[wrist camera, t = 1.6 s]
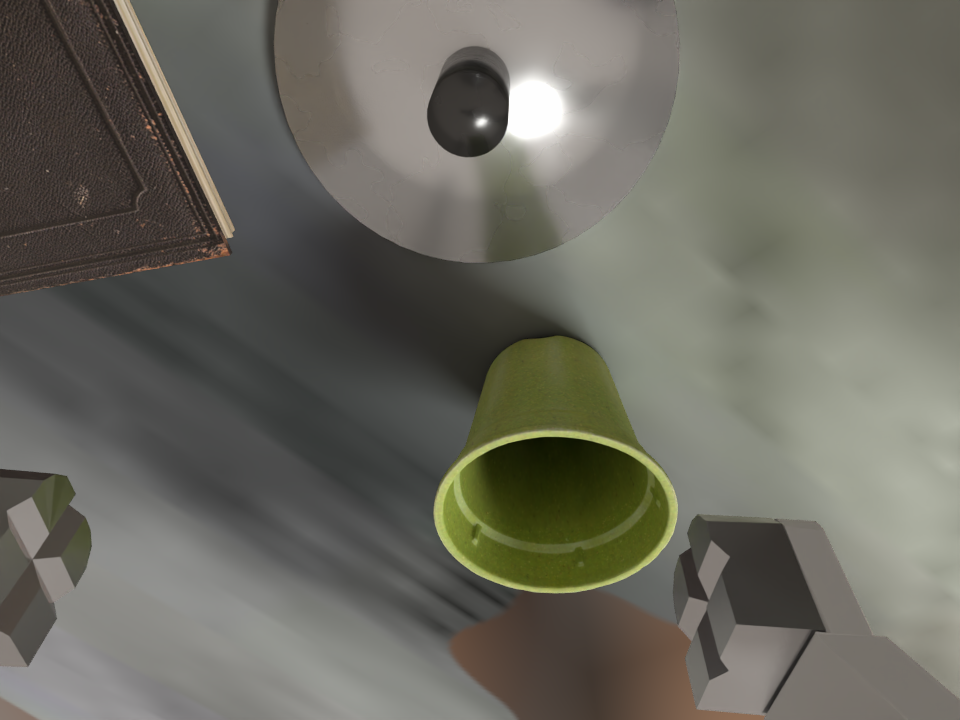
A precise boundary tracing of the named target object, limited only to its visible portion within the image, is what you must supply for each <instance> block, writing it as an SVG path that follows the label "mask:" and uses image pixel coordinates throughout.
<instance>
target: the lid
mask: <svg viewBox="0 0 960 720" xmlns="http://www.w3.org/2000/svg"><path fill="white" fill-rule="evenodd" d="M679 45H680V40H679V31H678V22H677V13H676V8H675V4H674V0H279V2H278V7H277V12H276V21H275V35H274V53H275V71H276V77H277V83H278V88H279V94H280V99H281V102H282V106H283V109H284V112H285V115H286V119H287V122H288V125H289V127H290V129H291V132H292V134H293V136H294V139H295V141H296V143H297V145H298V148H299V149H300V151H301V153H302V155H303V156H304V158H305V160H306V161H307V163H308V165H309V167H310V168H311V170H312V171H313V173H314V174H315V175H316V177H317V178H318V179H319V181H320V182H321V183H322V185H323V186H324V187H325V189H326V190H327V191H328V192H329V193H330V194H331V195H332V196H333V197H334V198H335V200H336V201H337V202H338V203H339V204H340V205H341V206H342V207H343V208H344V209H345V210H347V211H348V212H349V213H350V214H351V215H352V216H354V217H355V218H356V219H357V220H358V221H360V222H361V223H362V224H364V225H365V226H367V227H368V228H370V229H371V230H373V231H374V232H376V233H377V234H379V235H380V236H382V237H384V238H386V239H388V240H390V241H392V242H394V243H396V244H398V245H400V246H402V247H404V248H407V249H410V250H412V251H415V252H418V253H420V254H423V255H427V256H431V257H435V258H439V259H443V260H450V261H458V262H466V263H493V262H502V261H511V260H516V259H520V258H524V257H529V256H533V255H536V254H539V253H542V252H544V251H547V250H550V249H553V248H555V247H557V246H559V245H561V244H563V243H565V242H567V241H569V240H571V239H573V238H575V237H577V236H579V235H580V234H582V233H583V232H585V231H586V230H588V229H589V228H591V227H592V226H594V225H595V224H596V223H598V222H599V221H600V220H601V219H602V218H604V217H605V216H606V215H607V214H608V213H609V212H611V211H612V210H613V209H614V208H615V207H616V206H617V205H618V204H619V203H620V202H621V201H622V199H623V198H624V197H625V196H626V195H627V194H628V193H629V192H630V191H631V190H632V188H633V187H634V185H635V184H636V183H637V181H638V180H639V179H640V177H641V176H642V174H643V173H644V172H645V170H646V168H647V167H648V165H649V163H650V161H651V159H652V158H653V156H654V154H655V152H656V151H657V149H658V147H659V144H660V142H661V139H662V137H663V134H664V132H665V129H666V127H667V124H668V121H669V118H670V114H671V110H672V107H673V103H674V99H675V94H676V87H677V80H678V73H679Z"/></svg>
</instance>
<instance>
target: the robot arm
mask: <svg viewBox="0 0 960 720" xmlns="http://www.w3.org/2000/svg"><path fill="white" fill-rule="evenodd" d="M74 496H75V492H74V490H73V488H72V486H71V483H70V481H69V479H68V477H67V476H63V475H58V474H50V473H39V472H28V471H17V470H6V469H0V666H11V667H28V666H29V665H30V663H31V661H32V660H33V658H34V656H35V655H36V653H37V651H38V650H39V648H40V646H41V645H42V643H43V641H44V639H45V638H46V636H47V634H48V633H49V631H50V629H51V628H52V626H53V624H54V623H55V621H56V619H57V617H56V611H55V606H54V602H56V601H57V600H58V599H60V598H61V597H63V596H64V595H66V594H67V593H69V592H70V591H72V590H73V589H74V588H75V587H76V585H77V584H78V582H79V580H80V578H81V577H82V575H83V573H84V571H85V569H86V567H87V563H88V559H89V555H90V551H91V547H92V545H91V530H90V528H89V525H88V523H87V520H86V518H85V517H84V516H83V515H82V514H80V513H79V512H78V511H76V510H75V509H74V508H72V507H71V506H70V505H69V504H70V502H71V500H72V499H73V497H74ZM687 534H688V538H689V542H690V546H691V548H690V549H688V550H687V551H685V552H684V553H682V554H681V555H679V558H678V562H677V565H676V568H675V572H674V584H673V598H674V609H675V614H676V619H677V624H678V627H679V628H680V629H681V630H682V631H683V632H684V633H685V634H686V636H687V637H688V638H689V639H690V640H691V641H692V643H691V645H690V648H689V650H688V653H687V655H686V657H685V661H686V665H687V669H688V673H689V678H690V683H691V687H692V691H693V696H694V700H695V705H696V709H700V710H711V711H723V712H734V713H744V714H756V715H766V716H765V718H764V720H960V699H959V698H957V697H956V696H955V695H954V694H953V693H952V692H950V691H949V690H948V689H947V688H946V687H945V686H943V685H942V684H941V683H940V682H939V681H938V680H936V679H935V678H934V677H933V676H932V675H931V674H929V673H928V672H927V671H926V670H925V669H924V668H922V667H921V666H920V665H919V664H918V663H917V662H915V661H914V660H913V659H912V658H911V657H910V656H908V655H907V654H906V653H905V652H904V651H903V650H901V649H900V648H899V647H898V646H897V645H896V644H894V643H893V642H892V641H891V640H890V639H889V638H888V637H885V636H875V635H874V634H873V632H872V630H871V628H870V626H869V624H868V622H867V620H866V618H865V615H864V613H863V611H862V609H861V607H860V605H859V603H858V601H857V599H856V596H855V594H854V592H853V590H852V588H851V586H850V584H849V582H848V580H847V578H846V575H845V573H844V571H843V569H842V567H841V565H840V563H839V561H838V559H837V557H836V554H835V552H834V550H833V548H832V546H831V544H830V542H829V540H828V538H827V536H826V533H825V531H824V529H823V528H822V527H821V526H820V525H819V524H818V523H817V522H816V521H805V520H789V519H772V518H761V517H742V516H723V515H704V514H698V515H697V516H696V517H695V518H694V519H693V520H692V522H691V524H690V527H689V530H688V532H687Z"/></svg>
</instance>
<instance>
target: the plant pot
mask: <svg viewBox="0 0 960 720" xmlns="http://www.w3.org/2000/svg"><path fill="white" fill-rule="evenodd" d="M677 513H678V503H677V498H676V494H675V491H674V488H673V486H672V483H671V481H670V480H669V478H668V476H667V474H666V473H665V471H664V470H663V469H662V467H661V466H660V465H659V464H658V463H657V462H656V461H655V460H654V459H653V458H652V457H651V456H650V455H649V454H648V453H646V451H645V450H644V449H643V447H642V446H641V445H640V444H639V443H638V441H637V438H636V436H635V434H634V431H633V429H632V426H631V424H630V421H629V419H628V417H627V414H626V412H625V409H624V407H623V404H622V402H621V399H620V397H619V394H618V392H617V389H616V386H615V384H614V381H613V379H612V377H611V374H610V372H609V369H608V367H607V365H606V364H605V362H604V360H603V359H602V358H601V356H600V355H599V354H598V353H597V352H596V351H594V350H593V349H592V348H591V347H589V346H588V345H586V344H584V343H582V342H580V341H577V340H575V339H572V338H568V337H564V336H552V337H547V338H539V339H524V340H521V341H519V342H516V343H514V344H512V345H511V346H509V347H508V348H506V349H505V350H504V351H502V352H501V353H500V354H499V355H498V356H497V358H496V359H495V360H494V361H493V363H492V364H491V366H490V368H489V370H488V373H487V376H486V379H485V382H484V386H483V389H482V393H481V396H480V399H479V403H478V406H477V409H476V413H475V416H474V420H473V423H472V426H471V429H470V433H469V436H468V439H467V442H466V446H465V447H464V449H463V450H462V451H461V453H460V455H459V456H458V458H457V460H456V461H455V462H454V463H453V464H452V465H451V466H450V468H449V469H448V470H447V472H446V473H445V475H444V476H443V478H442V480H441V482H440V484H439V487H438V489H437V493H436V497H435V502H434V520H435V526H436V529H437V532H438V534H439V537H440V539H441V540H442V542H443V544H444V545H445V547H446V548H447V550H448V551H449V552H450V553H451V554H452V555H453V557H455V558H456V559H457V560H458V561H459V562H460V563H462V565H464V566H465V567H467V568H468V569H470V570H471V571H472V572H474V573H476V574H477V575H479V576H482V577H484V578H486V579H488V580H491V581H493V582H496V583H499V584H501V585H504V586H507V587H511V588H515V589H522V590H527V591H533V592H542V593H566V592H579V591H584V590H590V589H594V588H597V587H600V586H604V585H608V584H612V583H614V582H617V581H620V580H622V579H625V578H627V577H629V576H630V575H632V574H634V573H636V572H637V571H639V570H640V569H641V568H642V567H644V566H646V565H648V564H649V563H650V562H651V561H652V560H653V559H655V558H656V557H657V556H658V554H659V553H660V552H661V550H662V549H663V548H664V547H665V546H666V545H667V543H668V542H669V540H670V538H671V536H672V534H673V532H674V529H675V524H676V521H677Z"/></svg>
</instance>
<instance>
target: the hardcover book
mask: <svg viewBox="0 0 960 720" xmlns="http://www.w3.org/2000/svg"><path fill="white" fill-rule="evenodd" d="M233 231H235V229H234V226H233V224H232V222H231V220H230V218H229V216H228V213H227V211H226V209H225V207H224V205H223V203H222V200H221V198H220V196H219V194H218V192H217V190H216V187H215V185H214V183H213V181H212V179H211V177H210V174H209V172H208V170H207V168H206V166H205V164H204V161H203V159H202V157H201V155H200V153H199V151H198V148H197V146H196V144H195V142H194V140H193V138H192V135H191V133H190V131H189V129H188V127H187V125H186V122H185V120H184V118H183V116H182V114H181V112H180V109H179V107H178V105H177V103H176V101H175V99H174V96H173V94H172V92H171V90H170V88H169V86H168V83H167V81H166V79H165V77H164V75H163V73H162V70H161V68H160V66H159V64H158V62H157V60H156V57H155V55H154V53H153V51H152V49H151V47H150V44H149V42H148V40H147V38H146V36H145V34H144V31H143V29H142V27H141V25H140V23H139V21H138V18H137V16H136V14H135V12H134V10H133V8H132V5H131V3H130V1H129V0H0V296H5V295H10V294H16V293H21V292H27V291H33V290H38V289H44V288H49V287H55V286H61V285H66V284H72V283H77V282H83V281H89V280H94V279H100V278H105V277H111V276H116V275H122V274H128V273H133V272H139V271H144V270H150V269H156V268H161V267H167V266H172V265H178V264H184V263H189V262H195V261H200V260H206V259H211V258H217V257H223V256H228V255H231V253H232V251H231V249H230V246H229V244H228V242H227V240H226V238H230V237H233V234H232V232H233Z"/></svg>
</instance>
